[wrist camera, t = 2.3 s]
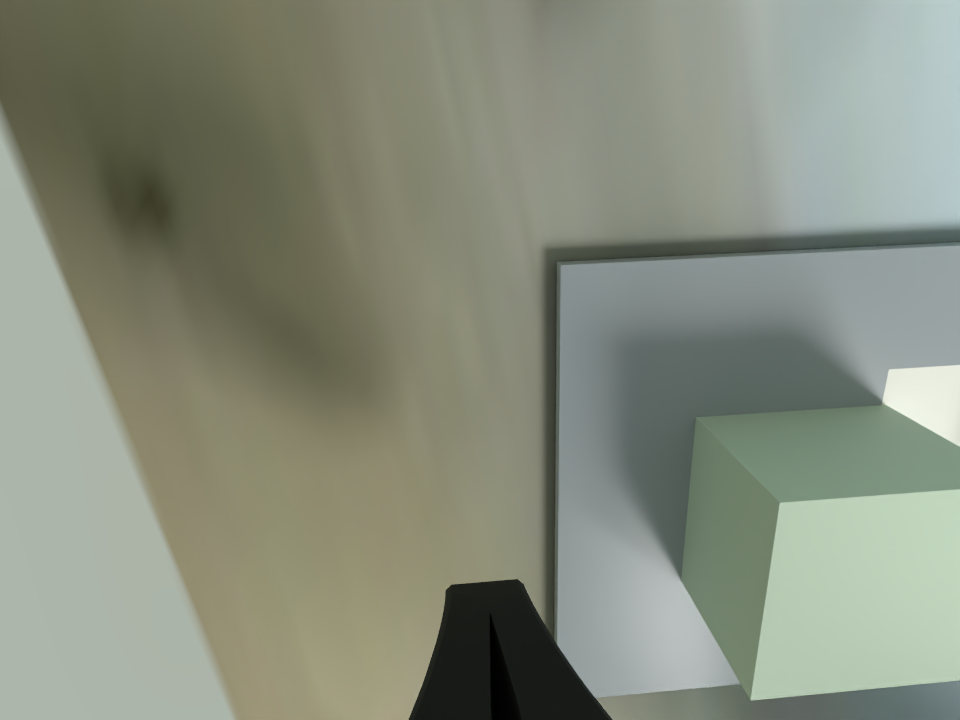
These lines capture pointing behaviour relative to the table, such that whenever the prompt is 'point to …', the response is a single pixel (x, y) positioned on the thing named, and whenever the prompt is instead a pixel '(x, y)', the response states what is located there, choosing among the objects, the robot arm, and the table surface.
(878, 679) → the green block
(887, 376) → the plate
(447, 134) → the table surface
